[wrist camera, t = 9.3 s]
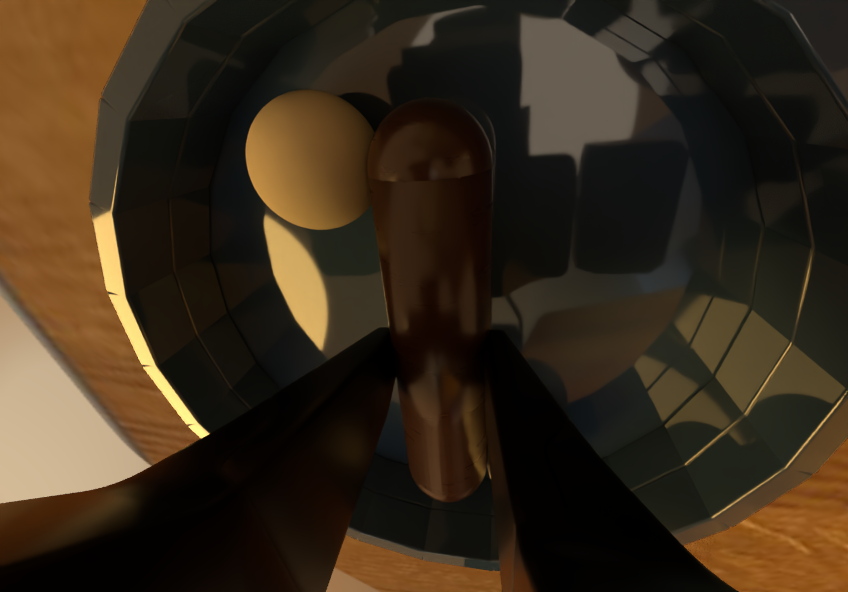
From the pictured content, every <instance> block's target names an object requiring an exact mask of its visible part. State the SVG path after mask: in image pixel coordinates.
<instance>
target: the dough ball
mask: <svg viewBox="0 0 848 592" xmlns="http://www.w3.org/2000/svg"><path fill="white" fill-rule="evenodd" d="M373 135H374V131H373V129H372V127H371V125H370V124H369V123H368V121H367V120H366V119H365V117H364V116H363V115H362V114H361V113H360V112H359V111H358V110H357V109H356V108H355V107H353V106H352V105H351V104H350V103H348V102H347V101H345V100H344V99H342V98H340V97H337V96H335V95H333V94H331V93H327V92H324V91H318V90H312V89H303V90H296V91H290V92H287V93H285V94H282V95H280V96H278V97H276V98H274V99H273V100H271V101H270V102H269V103H268V104H266V105H265V106H264V107H263V108H262V109H261V110H260V112H259V113H258V114H257V116H256V117H255V119H254V121H253V123H252V124H251V127H250V130H249V132H248V136H247V141H246V150H245V151H246V163H247V169H248V173H249V176H250V179H251V181H252V184H253V186H254V188H255V189H256V191H257V193H258V194H259V196H260V197H261V199H262V200H263V201H264V202H265V203H266V205H267V206H268V207H269V208H270V209H271V210H272V211H273V212H275V213H276V214H277V215H279V216H280V217H282V218H283V219H285V220H287V221H288V222H290V223H292V224H295V225H297V226H300V227H304V228H309V229H316V230H327V229H333V228H338V227H341V226H344V225H347V224H349V223H351V222H352V221H354V220H356V219H357V218H358V217H360V216H361V215H362V214H363V213H364V212H365V211H366V210H367V209H368V208H369V207H370V205H371V197H370V190H369V183H368V176H367V157H368V150H369V146H370V143H371V140H372V137H373Z"/></svg>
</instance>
